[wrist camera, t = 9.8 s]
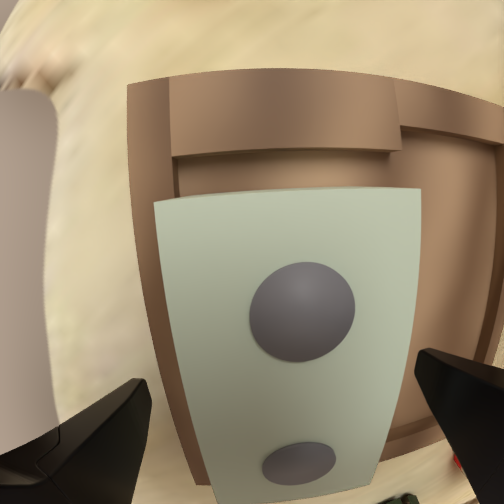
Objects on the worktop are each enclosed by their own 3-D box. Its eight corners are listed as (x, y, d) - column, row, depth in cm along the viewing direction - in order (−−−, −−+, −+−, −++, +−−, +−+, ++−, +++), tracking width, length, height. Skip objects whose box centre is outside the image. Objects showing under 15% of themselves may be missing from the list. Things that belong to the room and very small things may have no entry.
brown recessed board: (486, 115, 12) (511, 110, 9) (451, 412, 16) (465, 428, 14) (144, 99, 11) (127, 84, 9) (198, 459, 15) (196, 484, 13)
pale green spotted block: (349, 186, 11) (424, 189, 6) (339, 412, 13) (370, 486, 8) (190, 195, 11) (151, 202, 6) (221, 425, 13) (218, 507, 8)
